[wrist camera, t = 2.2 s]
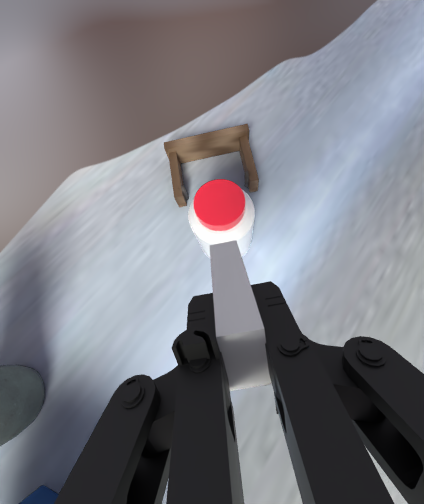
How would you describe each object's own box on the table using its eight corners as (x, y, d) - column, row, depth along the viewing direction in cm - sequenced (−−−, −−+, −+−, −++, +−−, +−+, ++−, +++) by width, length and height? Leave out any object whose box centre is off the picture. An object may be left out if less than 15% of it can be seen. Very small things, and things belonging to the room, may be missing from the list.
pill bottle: (225, 204, 37) (219, 157, 27) (263, 236, 35) (272, 199, 25) (189, 238, 36) (168, 203, 26) (225, 274, 34) (218, 251, 24)
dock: (246, 142, 40) (247, 123, 36) (259, 190, 37) (261, 175, 34) (170, 159, 41) (163, 142, 37) (177, 207, 38) (170, 194, 34)
